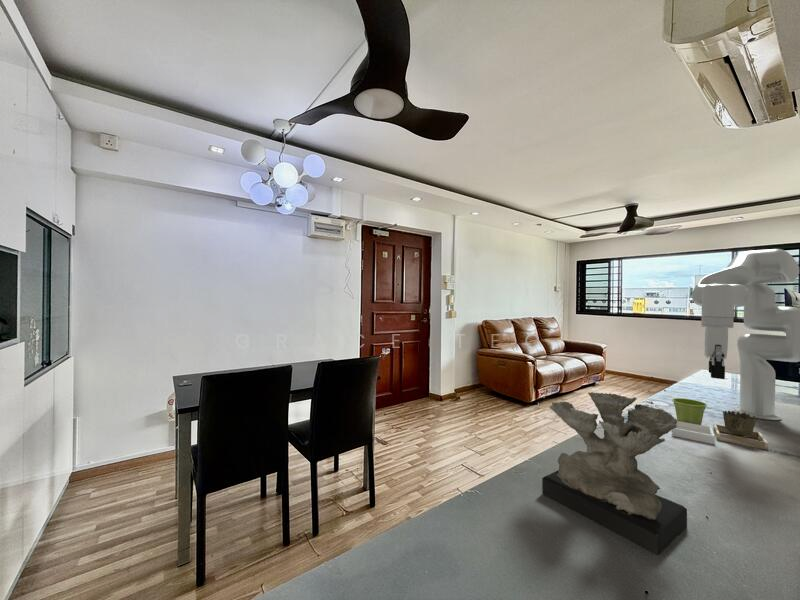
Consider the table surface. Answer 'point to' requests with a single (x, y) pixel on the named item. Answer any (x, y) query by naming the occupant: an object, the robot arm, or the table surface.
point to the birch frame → (740, 438)
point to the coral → (617, 472)
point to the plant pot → (689, 410)
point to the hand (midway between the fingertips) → (716, 375)
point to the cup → (739, 423)
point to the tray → (694, 432)
